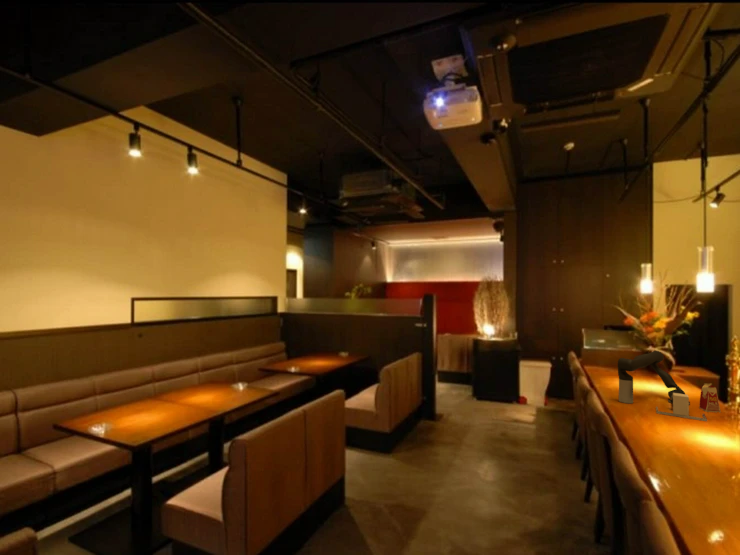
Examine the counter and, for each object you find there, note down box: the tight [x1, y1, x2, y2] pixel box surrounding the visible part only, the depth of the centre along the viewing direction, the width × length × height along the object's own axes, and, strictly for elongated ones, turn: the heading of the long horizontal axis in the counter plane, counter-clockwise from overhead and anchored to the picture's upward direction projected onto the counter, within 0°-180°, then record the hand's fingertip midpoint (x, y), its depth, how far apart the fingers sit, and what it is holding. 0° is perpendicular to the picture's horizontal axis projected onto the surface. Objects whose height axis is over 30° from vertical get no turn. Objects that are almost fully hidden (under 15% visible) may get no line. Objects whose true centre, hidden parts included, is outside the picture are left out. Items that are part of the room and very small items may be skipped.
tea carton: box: [672, 393, 690, 416], centre depth 269 cm, size 8×8×14 cm
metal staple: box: [655, 406, 708, 422], centre depth 270 cm, size 27×14×2 cm, turn 55°
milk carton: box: [698, 382, 722, 414], centre depth 281 cm, size 9×9×20 cm
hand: (679, 404), depth 273 cm, fingers closed
